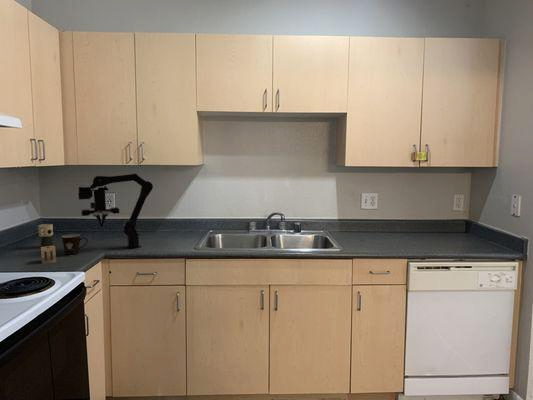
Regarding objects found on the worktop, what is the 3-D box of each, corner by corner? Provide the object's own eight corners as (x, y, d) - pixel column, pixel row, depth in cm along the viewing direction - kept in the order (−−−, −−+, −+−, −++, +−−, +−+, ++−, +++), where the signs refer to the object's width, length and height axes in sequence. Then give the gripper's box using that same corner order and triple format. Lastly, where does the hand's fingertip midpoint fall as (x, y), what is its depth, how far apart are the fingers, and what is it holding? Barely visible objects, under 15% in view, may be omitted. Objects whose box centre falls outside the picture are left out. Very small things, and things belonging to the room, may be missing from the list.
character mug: (48, 249, 213) (46, 226, 211) (35, 249, 212) (33, 226, 211) (58, 244, 224) (56, 223, 222) (45, 245, 223) (44, 223, 222)
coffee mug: (59, 255, 199) (57, 237, 198) (71, 251, 207) (70, 233, 206) (77, 257, 196) (76, 238, 195) (89, 253, 204) (88, 234, 203)
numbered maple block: (56, 262, 188) (55, 247, 187) (42, 263, 185) (41, 249, 184) (55, 259, 193) (54, 245, 192) (41, 260, 190) (40, 246, 189)
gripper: (115, 196, 219) (117, 223, 221) (79, 198, 210) (81, 226, 212) (118, 198, 209) (120, 226, 211) (81, 200, 200) (83, 229, 202)
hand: (101, 226), depth 209 cm, fingers closed
